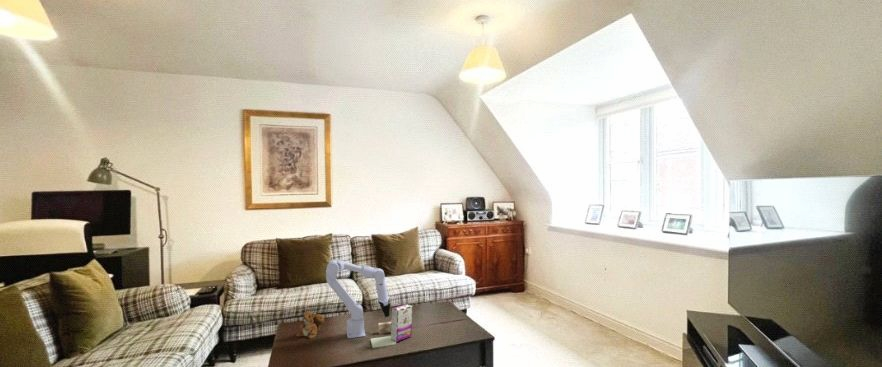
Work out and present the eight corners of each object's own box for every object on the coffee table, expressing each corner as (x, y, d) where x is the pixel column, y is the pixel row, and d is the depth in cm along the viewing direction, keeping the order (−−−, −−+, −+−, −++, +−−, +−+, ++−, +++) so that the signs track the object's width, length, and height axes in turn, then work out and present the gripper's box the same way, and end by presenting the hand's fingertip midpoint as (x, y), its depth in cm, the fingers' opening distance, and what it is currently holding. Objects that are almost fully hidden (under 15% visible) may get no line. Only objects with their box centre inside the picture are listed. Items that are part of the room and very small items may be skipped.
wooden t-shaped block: (379, 335, 207) (379, 326, 207) (378, 330, 214) (377, 321, 214) (394, 333, 210) (393, 324, 210) (392, 328, 216) (391, 320, 216)
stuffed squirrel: (295, 337, 207) (294, 313, 207) (314, 328, 220) (314, 305, 220) (308, 340, 203) (307, 315, 203) (327, 331, 215) (326, 307, 215)
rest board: (372, 347, 191) (372, 346, 191) (370, 340, 201) (370, 338, 201) (396, 344, 195) (396, 342, 195) (393, 337, 204) (392, 335, 204)
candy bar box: (405, 334, 208) (406, 304, 208) (411, 336, 204) (413, 306, 205) (389, 339, 199) (391, 307, 200) (396, 342, 196) (398, 310, 196)
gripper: (391, 292, 206) (395, 316, 206) (387, 285, 220) (391, 308, 220) (378, 295, 204) (382, 320, 204) (375, 288, 218) (379, 311, 218)
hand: (386, 314), depth 212 cm, fingers open, 7 cm apart
